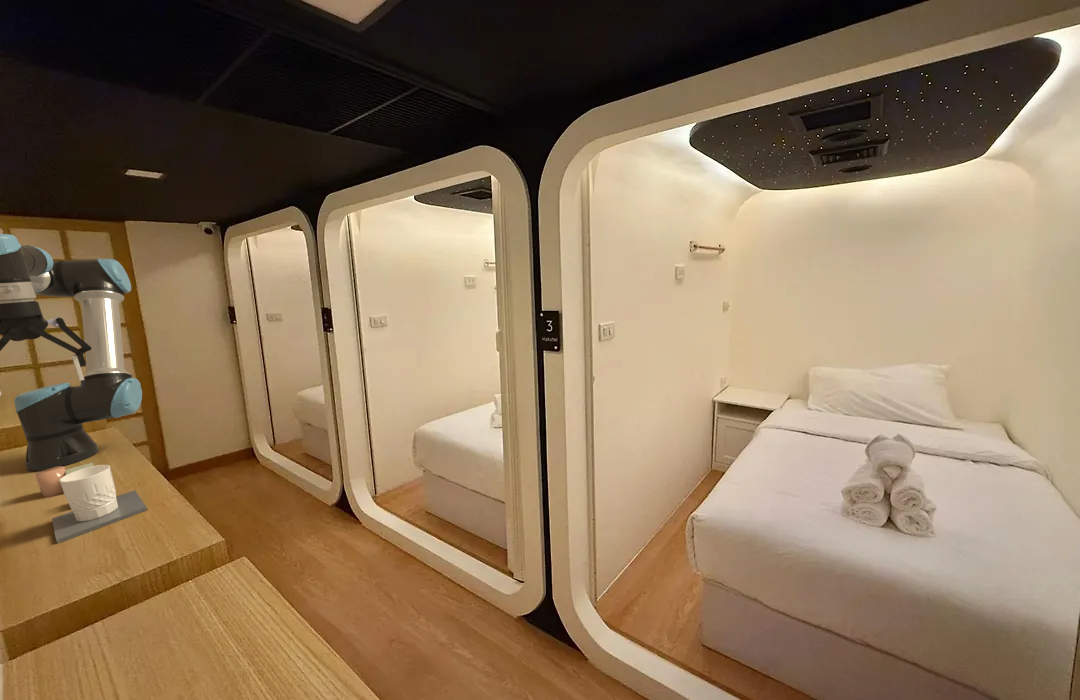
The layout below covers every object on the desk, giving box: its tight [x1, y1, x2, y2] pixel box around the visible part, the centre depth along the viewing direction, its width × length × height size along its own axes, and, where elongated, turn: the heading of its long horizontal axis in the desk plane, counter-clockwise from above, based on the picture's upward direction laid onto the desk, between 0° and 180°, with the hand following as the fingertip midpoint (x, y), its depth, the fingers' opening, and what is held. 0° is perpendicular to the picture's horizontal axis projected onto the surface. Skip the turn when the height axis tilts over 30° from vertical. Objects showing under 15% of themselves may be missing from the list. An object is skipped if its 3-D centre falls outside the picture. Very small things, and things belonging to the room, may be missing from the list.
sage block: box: [65, 462, 95, 475], centre depth 112 cm, size 5×5×5 cm
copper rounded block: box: [35, 465, 67, 498], centre depth 110 cm, size 5×5×6 cm
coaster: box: [51, 489, 148, 544], centre depth 97 cm, size 14×14×1 cm
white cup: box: [59, 464, 118, 522], centre depth 95 cm, size 8×8×10 cm
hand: (42, 387), depth 105 cm, fingers open, 13 cm apart
